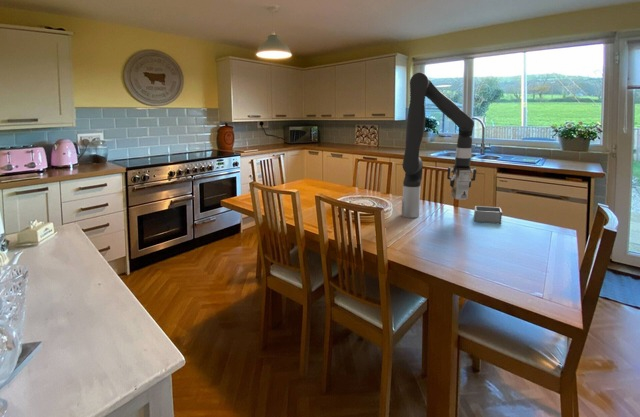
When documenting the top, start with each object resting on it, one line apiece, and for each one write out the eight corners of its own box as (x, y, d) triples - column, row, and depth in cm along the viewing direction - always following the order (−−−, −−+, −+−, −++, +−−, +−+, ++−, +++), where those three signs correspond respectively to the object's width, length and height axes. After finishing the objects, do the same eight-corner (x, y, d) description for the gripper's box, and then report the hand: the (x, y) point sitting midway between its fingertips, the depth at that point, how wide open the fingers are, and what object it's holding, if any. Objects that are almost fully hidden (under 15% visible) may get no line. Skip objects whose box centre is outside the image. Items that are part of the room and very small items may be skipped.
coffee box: (450, 195, 207) (453, 165, 202) (462, 195, 207) (465, 165, 202) (455, 199, 198) (458, 168, 193) (468, 199, 198) (471, 169, 193)
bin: (474, 221, 201) (475, 210, 199) (473, 216, 210) (474, 205, 208) (500, 223, 196) (502, 212, 195) (499, 218, 206) (500, 207, 204)
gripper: (448, 156, 195) (445, 188, 200) (478, 158, 191) (474, 190, 195) (448, 154, 202) (446, 185, 207) (477, 156, 197) (474, 187, 202)
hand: (460, 187), depth 201 cm, fingers closed on coffee box, 7 cm apart
